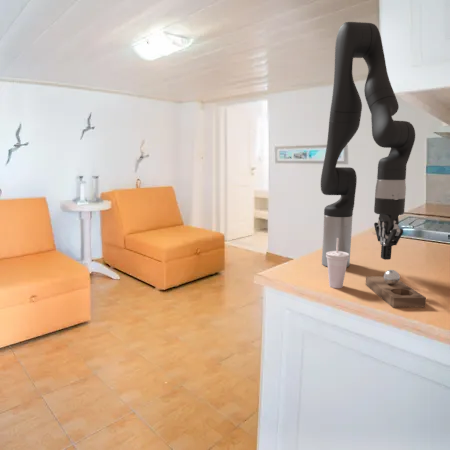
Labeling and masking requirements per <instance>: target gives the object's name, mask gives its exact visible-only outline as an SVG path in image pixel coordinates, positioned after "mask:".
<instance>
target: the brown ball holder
mask: <svg viewBox="0 0 450 450" xmlns="http://www.w3.org/2000/svg"><path fill="white" fill-rule="evenodd" d="M364 284H365V286H366V287H368V289H370V290H371V291H373V293H375V294H376V295H378V297H380V298H381V299H382V300H383V301H384V302H385V303H387V304H388V305H389V306H390V307H392V308H393V309H394V308H395V309H396V308H426V305H427V303H426V302H427V297H426V296H424V294H421V293H420V292H418V291H416V290H415V289H414V288H413V287H411V286H409V285H407V283H405V282H403V281H402V280H400V279H399V281H398V283H396V284H394V285H390V284H388V283H386V282H385V280H384V275H383V276H381V275H380V276H379V275H377V276H376V275H375V276H374V275H373V276H369V275H368V276H365V283H364Z"/></svg>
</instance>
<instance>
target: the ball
mask: <svg viewBox="0 0 450 450" xmlns="http://www.w3.org/2000/svg"><path fill="white" fill-rule="evenodd" d="M383 276H384V280H385V282H386V283H388V284H390V285H394V284H396V283H398V281H399V280H400V274H399V272H398V271H396V270H395V269H388V270H386V271H385V272H384V274H383Z"/></svg>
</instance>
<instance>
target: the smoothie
mask: <svg viewBox="0 0 450 450" xmlns="http://www.w3.org/2000/svg"><path fill="white" fill-rule="evenodd" d="M338 244H339V238H337V243H336V251H329V252H326V257H327V264H328V266H327V274H328V275H327V276H328V286H329V288H333V289H342V288H343V287H344V281H345V275H346V271H347V267H346V266H347V261H348V259H349V254H348V253H346V252H342V251H338Z"/></svg>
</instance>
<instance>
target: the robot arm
mask: <svg viewBox="0 0 450 450" xmlns="http://www.w3.org/2000/svg"><path fill="white" fill-rule="evenodd" d="M334 49H335V50H334V75H333V86H332V87H333V88H332V89H333V90H332V96H331V104H330V111H329V119H328V129H327V130H328V133H327V142H326V149H325V154H324V160H323V165H322V169H321V174H320V175H321V176H320V191H321V193H322V194H323V195H325V196H340V198H339V199H338V200H337V201H335V202H333V203H331V204H328V205H326V206H325V207H324V210H323V212H324V213H323V230H322V231H323V232H322V253H321V265H323V266H325V267H328V264H327V257H326V252H329V251H336V243H337V238H339V244H338V251H342V252H346V253H348V254H349V259H348V261H347V266H346V268H348V267H350V262H351V261H350V260H351V249H352V248H351V245H352V231H353V230H352V229H353V215H354V207H355V201H356V200H355V198H356V191H357V183H358V182H357V177H358V176H357V172H356V170H355V169H354V168H353V167H349V166H348V167H347V166H345V167H344V166H341V167H339V166H338V167H337V164H338V160H339V157H340V155H341V153H342V152H343V150H344V148H346V146H347V145H349V144H348V143H349V142H350V141H351V140H352V139H353V138H354V136H355V135H356V133H357V132H358V129H359V128H360V124H361V117H362V111H363V103H362V100H361V99H362V98H361V96H360V93H359V91H358V89H357V86H356V84H355V81H354V75H353V63H354V59H361V58H362V59H363V60H364V62H365V64H366V65H367V76H366V81H365V84H364V91H363V92H364V98H365V100H366V104H367V107H368V109H369V112H370V113H371V116H370V117H371V118H370V119H371V134H372V135H371V136H372V139H373V141H374V142H375V144H377V145H378V146H379V147H380V148H383V149H384V148H388V149H390V151H389V153H388V155H387V156H384V157H382V158H380V159H379V160H378V162H377V163H378V164H377V173H376V174H377V175H376V184H375V192H374V206H373V211H374V213H375V214H376V215H379V216H378V222H374V224H373V225H374V229H375V233H376V238H377V241H378V242H379V243H380V248H381V250H380V258H381V259H383V260H386V261H387V260H391V259H392V248H393V247H394V246H397V245H398V243H399V241H400V238H401V237H402V235H403V234H404V229H403V228H400V227H399V224H400V221H399V216H402V215H404V214H405V208H406V207H405V204H406V195H407V194H406V193H407V192H406V191H407V185H406V184H407V183H406V180H407V164H408V162H409V160H410V156H411V154H412V150H413V148H414V144H415V140H416V130H415V127H414V125H413V124H412V123H411V122H410V121H406V120H394V118H393V116H394V115H396V113H397V112H398V110H399V102H398V99H397V97H396V94H395V91H394V89H393V87H392V83H391V81H390V78H389V74H388V69H387V64H386V63H387V62H386V58H385V53H384V46H383V40H382V36H381V33H380V31H379V28H378V26H377V25H376V24H375V23H372V22H360V21H359V22H358V21H347V22H346V21H345V22H344V23H343V24H342V25H341V26H339V29H338V31H337V33H336V39H335V47H334Z"/></svg>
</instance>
